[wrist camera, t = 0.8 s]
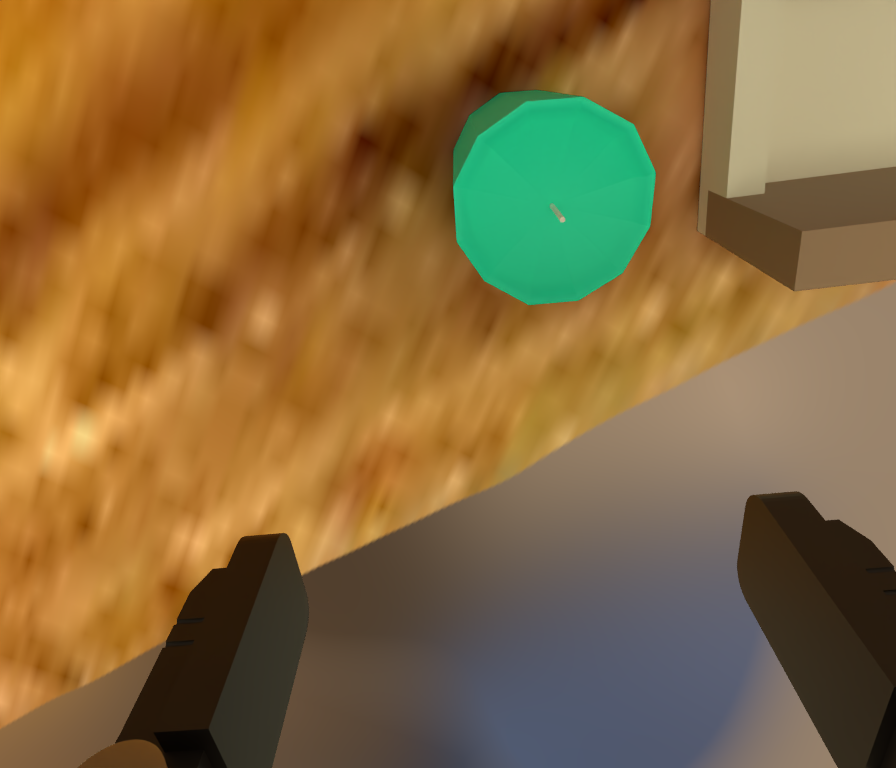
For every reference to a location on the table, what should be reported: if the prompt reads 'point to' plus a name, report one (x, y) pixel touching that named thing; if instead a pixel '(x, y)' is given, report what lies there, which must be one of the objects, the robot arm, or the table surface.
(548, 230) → the candle
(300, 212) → the table surface
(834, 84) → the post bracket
